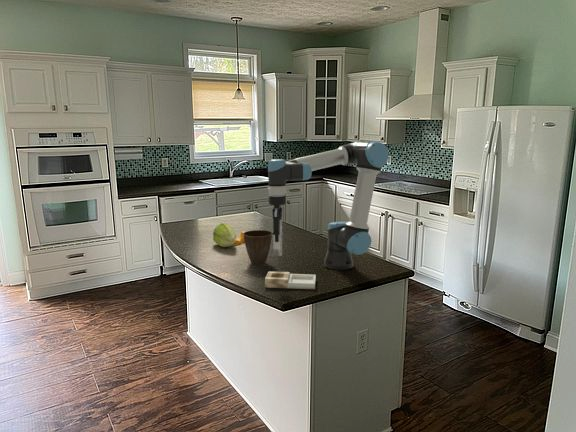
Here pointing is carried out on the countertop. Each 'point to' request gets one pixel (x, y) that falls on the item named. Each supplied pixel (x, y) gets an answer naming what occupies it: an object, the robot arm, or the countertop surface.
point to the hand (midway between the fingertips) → (277, 247)
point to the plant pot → (258, 245)
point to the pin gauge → (279, 251)
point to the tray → (302, 281)
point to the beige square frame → (277, 279)
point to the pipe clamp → (239, 239)
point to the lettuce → (224, 235)
